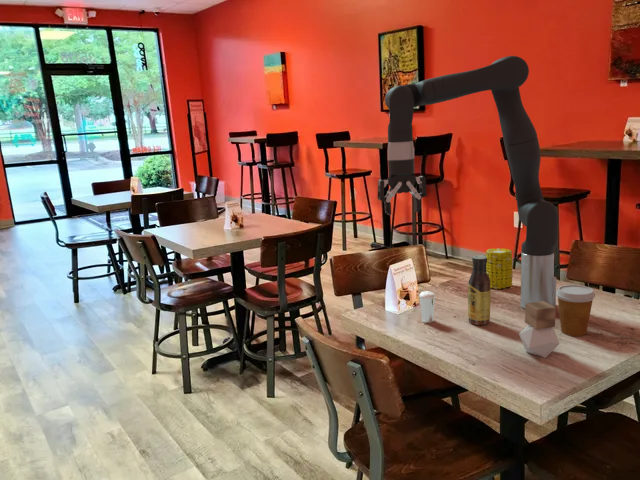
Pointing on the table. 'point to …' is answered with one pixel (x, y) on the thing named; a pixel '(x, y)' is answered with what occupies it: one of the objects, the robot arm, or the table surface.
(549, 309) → the walnut cube
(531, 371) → the table surface
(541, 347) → the die
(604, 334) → the table surface
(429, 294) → the milkshake
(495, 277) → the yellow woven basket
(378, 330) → the table surface
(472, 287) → the sauce bottle
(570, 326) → the disposable coffee cup
